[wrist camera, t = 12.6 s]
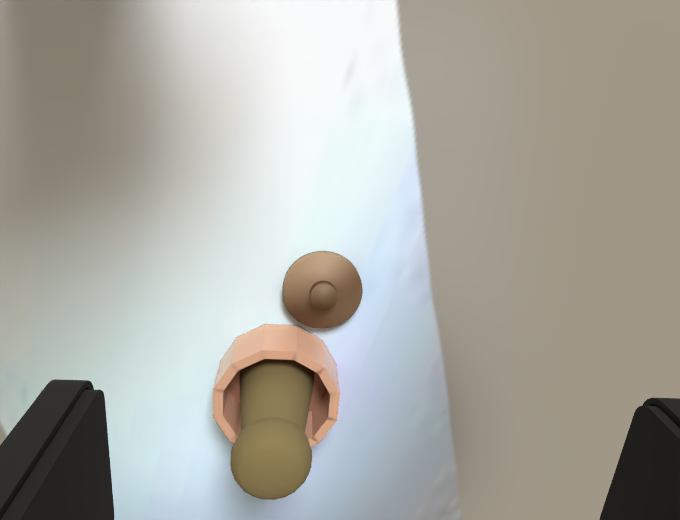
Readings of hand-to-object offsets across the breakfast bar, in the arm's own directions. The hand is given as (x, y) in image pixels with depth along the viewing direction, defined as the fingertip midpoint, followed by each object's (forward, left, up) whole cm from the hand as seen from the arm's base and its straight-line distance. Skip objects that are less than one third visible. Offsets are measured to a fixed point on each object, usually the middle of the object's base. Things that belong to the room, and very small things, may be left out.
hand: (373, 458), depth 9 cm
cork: (+18, -2, -30) cm, 35 cm away
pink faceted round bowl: (+18, -2, -30) cm, 35 cm away
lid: (+10, +1, -31) cm, 32 cm away
